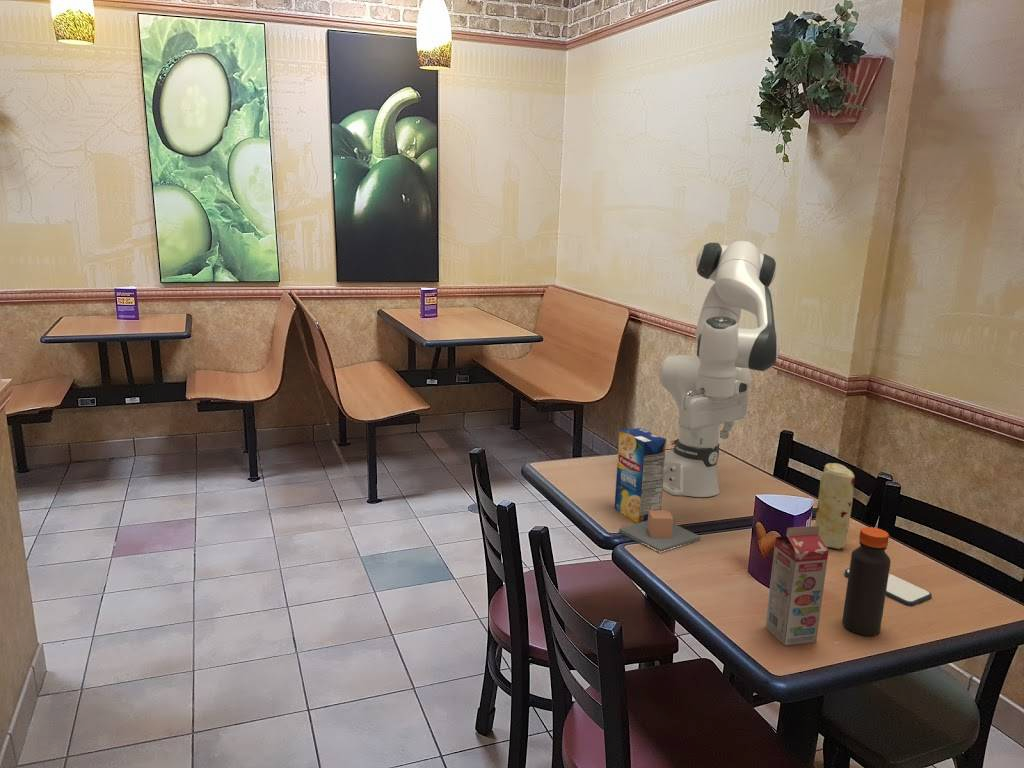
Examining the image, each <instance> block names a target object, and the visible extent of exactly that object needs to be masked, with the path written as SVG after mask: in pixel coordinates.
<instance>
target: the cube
mask: <svg viewBox="0 0 1024 768" xmlns="http://www.w3.org/2000/svg"><path fill="white" fill-rule="evenodd" d="M673 524H674V517H673V516H672V514H671V511H670V510H649V512H648V526H647V529H648V532H649V534H650V536H651V537H652V538H672V528H673Z"/></svg>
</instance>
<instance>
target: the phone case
mask: <svg viewBox="0 0 1024 768" xmlns="http://www.w3.org/2000/svg"><path fill="white" fill-rule="evenodd" d="M849 569H850V567H849V568H847V569H845V570H844V573H843V574H844V577H845V578H847V579H848V576H849ZM932 596H933V595H932V593H931V592H930V591H928V590H926V589H924V588H922V587H920V586H918V585H915V584H913V583H911V582H909V581H907V580H905V579H902V578H900V577H898V576H897V575H894V574H892V573H890V572H889V576H888V583H887V589H886V596H885V597H887V598H889V599H891V600H894V601H895V602H898V603H900V604H902V605H904V606H907V607H915V606H917V604H918V605H920V604H922V603H924V602H928V601H929V599H930V600H931V599H932Z"/></svg>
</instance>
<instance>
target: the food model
mask: <svg viewBox="0 0 1024 768" xmlns="http://www.w3.org/2000/svg"><path fill="white" fill-rule="evenodd" d="M855 480H856V476H855V474H854V472H853V471H852V470H851V469H849V468H847V467H846V466H845V465H843V464H841V463H837V462H833V463H832V462H830V463H829V462H828V463H826V464H825V465H824V468H823V472H822V475H821V478H820V481H819V490H818V496H817V497H818V498H817V508H816V516H815V524H814V526H820V527H819V534H818V535H819V536H820V538H821V539H822V541H823V542H824V544H825V545H826V546H827V548H831V549H832V548H833V549H838V550H839V549H843V548H844V547H845V546H846V544H847V543H846V541H847V536H848V534H849V529H850V522H851V514H852V507H853V499H854V491H855V490H854V489H855Z"/></svg>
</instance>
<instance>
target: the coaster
mask: <svg viewBox="0 0 1024 768" xmlns="http://www.w3.org/2000/svg"><path fill="white" fill-rule="evenodd" d="M647 526H648V520H647V521H643V522H640V523H636V522H635V523H634V524H629V525H627V526H623V527H619V528H618V533H620V534H622V535H623V536H626V537H627V538H629V539H631V540H632V541H635V542H637V543H638V544H641V543H644V544H647V545H649V546H650V547H652V548H654V549H656V550H658V551H660V552H661V551H664V550H667V549H670V548H673V547H677V546H680V545H684V544H687V545H689V544H688V543H690V544H692V543H691V542H693V543H696V542H699V541H701V536H700V535H698V534H696V533H694V532H692V531H690V530H688V529H685V527H684V528H683V527H682V526H679V525H678V524H675V523H673V528H672V538H652V537H651V536H650V534H649V532H648V529H647ZM698 540H699V541H698ZM695 541H696V542H695ZM684 546H685V545H684Z"/></svg>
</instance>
